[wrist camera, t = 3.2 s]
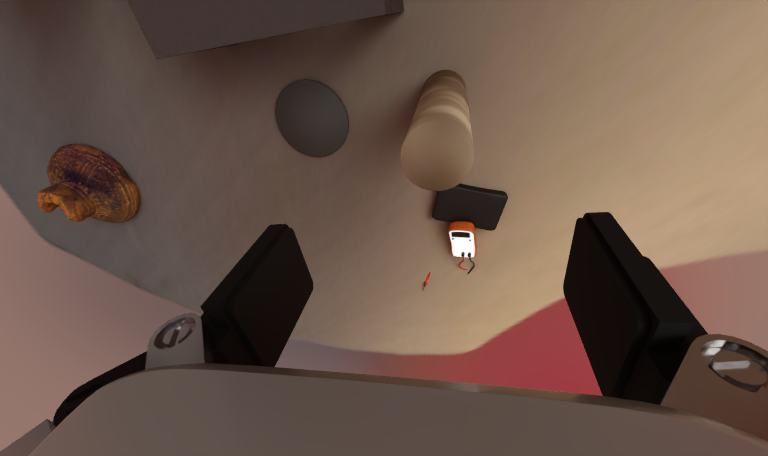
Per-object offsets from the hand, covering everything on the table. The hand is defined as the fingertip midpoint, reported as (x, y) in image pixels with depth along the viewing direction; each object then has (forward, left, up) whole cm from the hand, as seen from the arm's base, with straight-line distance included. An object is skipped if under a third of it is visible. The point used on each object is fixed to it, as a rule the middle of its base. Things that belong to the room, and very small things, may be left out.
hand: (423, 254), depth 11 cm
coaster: (+14, +1, -24) cm, 28 cm away
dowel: (0, 0, -24) cm, 24 cm away
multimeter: (-2, +19, -25) cm, 31 cm away
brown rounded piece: (+48, +6, -25) cm, 55 cm away
